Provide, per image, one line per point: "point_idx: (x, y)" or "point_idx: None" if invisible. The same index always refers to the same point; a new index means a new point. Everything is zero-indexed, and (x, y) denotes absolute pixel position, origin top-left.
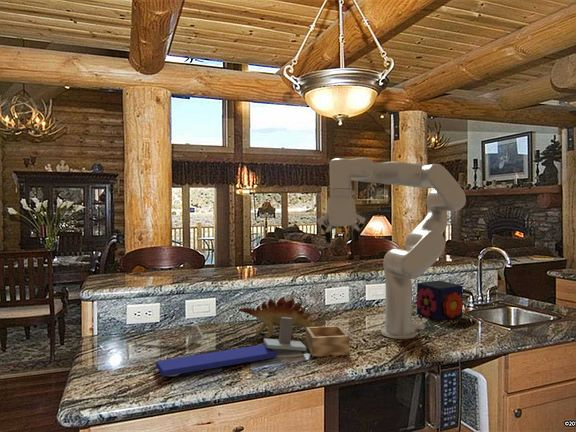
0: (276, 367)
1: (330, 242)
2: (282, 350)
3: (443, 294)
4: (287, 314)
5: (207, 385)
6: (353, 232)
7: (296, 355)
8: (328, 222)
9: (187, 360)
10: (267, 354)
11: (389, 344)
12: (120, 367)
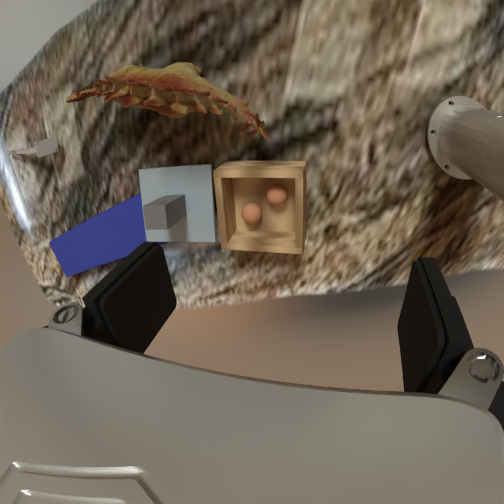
0: (175, 262)
1: (171, 308)
2: None
3: None
4: (164, 114)
5: None
6: (424, 355)
7: None
8: (12, 346)
9: (72, 249)
10: None
11: (412, 196)
12: (30, 225)
